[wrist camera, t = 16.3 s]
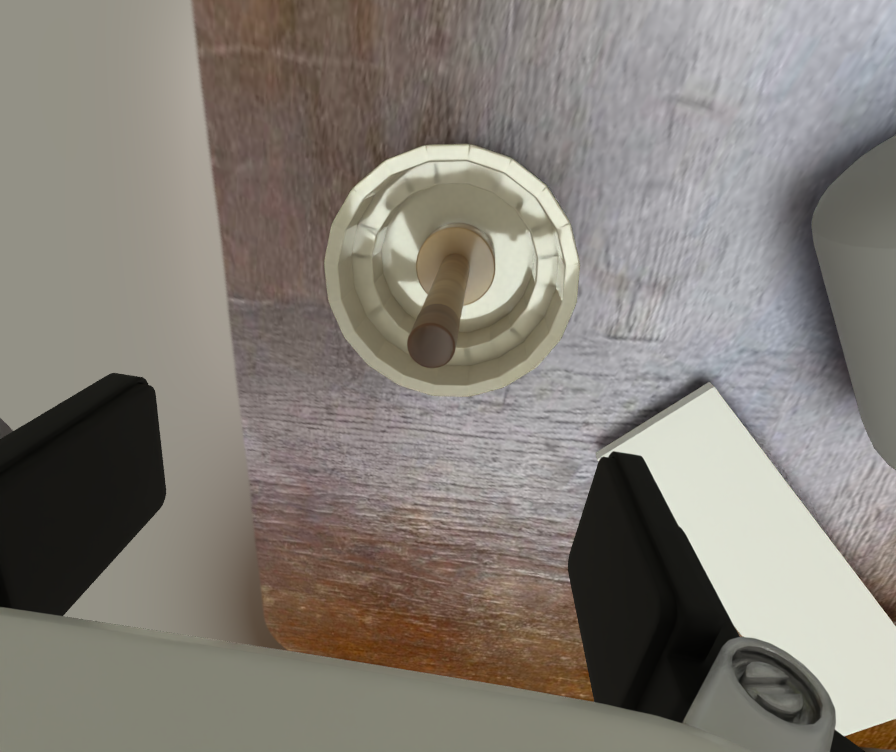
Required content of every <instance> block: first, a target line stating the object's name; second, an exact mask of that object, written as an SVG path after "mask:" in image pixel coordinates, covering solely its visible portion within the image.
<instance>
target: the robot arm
mask: <svg viewBox="0 0 896 752" xmlns="http://www.w3.org/2000/svg"><path fill="white" fill-rule="evenodd" d="M165 496H166V485H165V477H164V467H163V458H162V450H161V440H160V431H159V422H158V413H157V403H156V395H155V390H154V388H153V387H152V386H149V385H148V383H147V381H146V379H144V378H143V377H137V376H130V375H124V374H118V373H112V374H109V375H107V376H106V377H104V378H102V379H101V380H99V381H97V382H95V383H94V384H92V385H90V386H89V387H87V388H85V389H84V390H82V391H80V392H79V393H77V394H75V395H74V396H72V397H70V398H69V399H67V400H65V401H63V402H62V403H60V404H58V405H57V406H55V407H53V408H52V409H50V410H48V411H47V412H45V413H44V414H42V415H40V416H38V417H37V418H35V419H33V420H32V421H30V422H28V423H27V424H25V425H23V426H21V427H20V428H18V429H16V430H15V431H13V432H11V433H10V434H8V435H6V436H5V437H3V438H1V439H0V752H865V751H863V750H862V749H861V748H859V747H858V746H857V745H855V744H854V743H853V742H851V741H850V740H849V739H847V738H846V737H844V736H843V735H842V734H840V733H839V732H838V731H836V730H835V726H836V712H835V708H834V705H833V703H832V700H831V698H830V696H829V694H828V692H827V691H826V689H825V688H824V687H823V685H822V684H821V682H820V681H819V680H818V678H817V677H816V676H815V675H814V674H813V673H812V672H811V671H810V670H809V669H808V668H807V667H806V666H805V665H804V664H802V663H801V662H800V661H798V660H797V659H796V658H794V657H793V656H791V655H790V654H789V653H787V652H786V651H784V650H782V649H780V648H778V647H776V646H774V645H773V644H771V643H768V642H765V641H762V640H759V639H756V638H748V637H740V636H739V634H738V633H737V631H736V629H735V627H734V625H733V623H732V621H731V619H730V617H729V615H728V614H727V612H726V610H725V608H724V606H723V604H722V602H721V600H720V598H719V597H718V595H717V593H716V591H715V589H714V587H713V585H712V583H711V581H710V579H709V578H708V576H707V574H706V572H705V570H704V568H703V566H702V564H701V562H700V561H699V559H698V557H697V555H696V553H695V551H694V549H693V547H692V545H691V543H690V542H689V540H688V538H687V536H686V534H685V532H684V531H683V530H682V528H681V527H679V526H678V524H677V522H676V520H675V518H674V516H673V514H672V512H671V510H670V508H669V507H668V505H667V503H666V501H665V499H664V497H663V495H662V493H661V491H660V489H659V487H658V485H657V483H656V482H655V480H654V478H653V476H652V474H651V472H650V470H649V468H648V466H647V464H646V462H645V460H644V459H643V457H642V456H640V455H634V454H628V453H622V452H615V451H613V452H611V454H610V455H609V457H601V459H600V460H599V463H598V466H597V469H596V472H595V475H594V478H593V482H592V485H591V488H590V491H589V494H588V497H587V500H586V504H585V507H584V510H583V513H582V516H581V519H580V523H579V526H578V529H577V532H576V535H575V538H574V541H573V545H572V548H571V551H570V554H569V560H568V573H569V578H570V583H571V588H572V593H573V598H574V603H575V608H576V613H577V618H578V623H579V628H580V633H581V638H582V643H583V647H584V652H585V657H586V662H587V667H588V672H589V677H590V682H591V687H592V692H593V697H594V702H590V701H585V700H579V699H574V698H568V697H563V696H557V695H551V694H546V693H540V692H535V691H529V690H524V689H518V688H513V687H507V686H501V685H495V684H489V683H483V682H477V681H471V680H465V679H459V678H452V677H446V676H440V675H434V674H428V673H422V672H416V671H409V670H403V669H397V668H391V667H385V666H379V665H373V664H367V663H360V662H354V661H348V660H342V659H335V658H329V657H323V656H316V655H310V654H304V653H298V652H291V651H285V650H279V649H272V648H266V647H258V646H253V645H246V644H240V643H233V642H228V641H221V640H215V639H208V638H202V637H196V636H189V635H183V634H176V633H170V632H163V631H157V630H150V629H144V628H136V627H130V626H124V625H117V624H111V623H104V622H97V621H91V620H83V619H77V618H71V617H64V616H63V615H64V614H65V613H66V612H67V611H68V610H69V609H70V607H71V606H72V605H73V604H74V603H75V602H76V601H77V600H78V599H79V597H80V596H81V595H82V594H83V593H84V592H85V591H86V590H87V589H88V588H89V586H90V585H91V584H92V583H93V582H94V581H95V580H96V579H97V578H98V576H99V575H100V574H101V573H102V572H103V571H104V570H105V569H106V568H107V567H108V565H109V564H110V563H111V562H112V561H113V560H114V559H115V558H116V557H117V556H118V554H119V553H120V552H121V551H122V550H123V549H124V548H125V547H126V546H127V544H128V543H129V542H130V541H131V540H132V539H133V538H134V537H135V536H136V535H137V533H138V532H139V531H140V530H141V529H142V528H143V527H144V526H145V525H146V524H147V522H148V521H149V520H150V519H151V518H152V517H153V516H154V515H155V513H156V512H157V511H158V510H159V509H160V508H161V506H162V505H163V503H164V500H165Z"/></svg>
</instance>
